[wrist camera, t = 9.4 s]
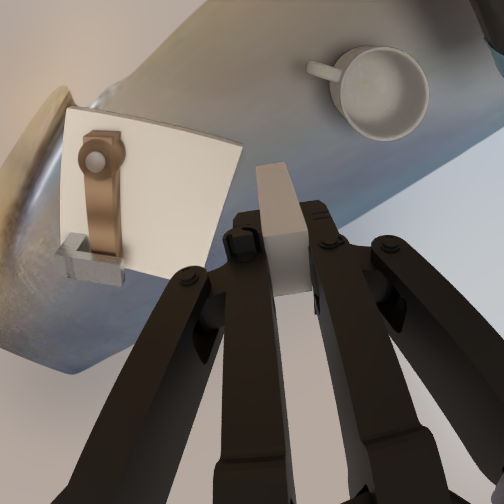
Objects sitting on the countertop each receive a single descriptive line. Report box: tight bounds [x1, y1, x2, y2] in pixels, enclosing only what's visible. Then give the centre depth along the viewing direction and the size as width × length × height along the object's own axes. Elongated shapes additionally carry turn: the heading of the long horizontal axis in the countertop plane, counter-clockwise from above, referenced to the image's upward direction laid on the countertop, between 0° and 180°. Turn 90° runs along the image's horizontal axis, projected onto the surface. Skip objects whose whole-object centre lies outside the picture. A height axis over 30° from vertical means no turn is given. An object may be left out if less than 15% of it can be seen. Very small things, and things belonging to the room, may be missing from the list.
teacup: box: [306, 46, 429, 141], centre depth 31 cm, size 14×11×8 cm
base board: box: [60, 106, 243, 279], centre depth 42 cm, size 24×24×2 cm
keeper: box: [55, 232, 125, 287], centre depth 44 cm, size 4×10×7 cm, turn 80°
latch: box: [78, 130, 126, 258], centre depth 39 cm, size 21×6×4 cm, turn 170°
